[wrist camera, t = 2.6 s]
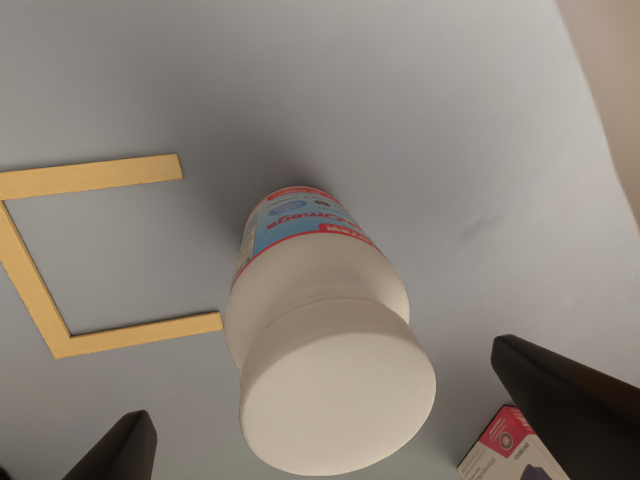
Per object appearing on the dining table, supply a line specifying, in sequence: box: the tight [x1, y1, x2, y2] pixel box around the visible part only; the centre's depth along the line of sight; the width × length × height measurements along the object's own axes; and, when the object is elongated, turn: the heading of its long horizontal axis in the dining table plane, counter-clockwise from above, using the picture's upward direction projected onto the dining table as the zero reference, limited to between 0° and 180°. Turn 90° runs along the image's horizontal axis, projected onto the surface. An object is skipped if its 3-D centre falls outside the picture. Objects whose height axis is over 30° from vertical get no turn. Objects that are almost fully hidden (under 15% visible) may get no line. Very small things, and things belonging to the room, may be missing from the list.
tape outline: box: [0, 153, 223, 359], centre depth 16 cm, size 10×9×1 cm
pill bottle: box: [225, 186, 436, 476], centre depth 12 cm, size 6×6×11 cm
